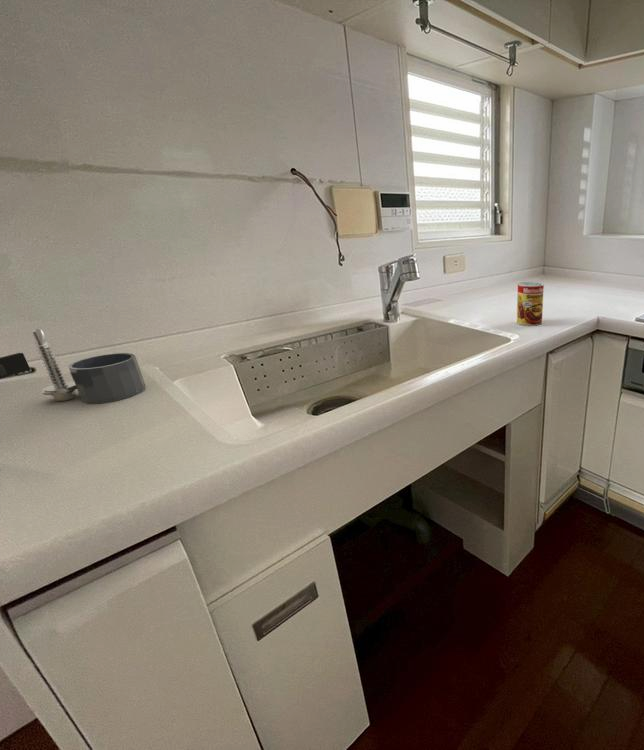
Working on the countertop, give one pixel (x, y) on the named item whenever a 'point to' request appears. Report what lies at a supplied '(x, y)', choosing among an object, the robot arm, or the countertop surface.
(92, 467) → the countertop surface
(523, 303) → the canned food
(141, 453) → the countertop surface
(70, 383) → the screw
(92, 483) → the countertop surface
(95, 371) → the steel cup
